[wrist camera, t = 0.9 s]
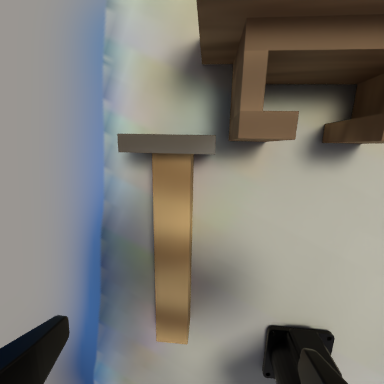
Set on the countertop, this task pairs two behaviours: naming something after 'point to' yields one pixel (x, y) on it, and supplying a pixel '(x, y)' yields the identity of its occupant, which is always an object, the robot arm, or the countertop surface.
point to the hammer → (171, 223)
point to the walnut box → (297, 60)
